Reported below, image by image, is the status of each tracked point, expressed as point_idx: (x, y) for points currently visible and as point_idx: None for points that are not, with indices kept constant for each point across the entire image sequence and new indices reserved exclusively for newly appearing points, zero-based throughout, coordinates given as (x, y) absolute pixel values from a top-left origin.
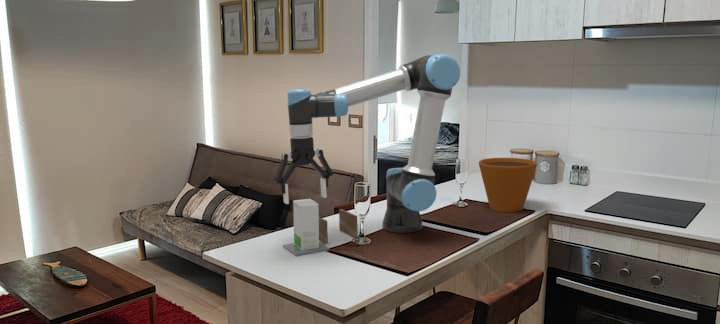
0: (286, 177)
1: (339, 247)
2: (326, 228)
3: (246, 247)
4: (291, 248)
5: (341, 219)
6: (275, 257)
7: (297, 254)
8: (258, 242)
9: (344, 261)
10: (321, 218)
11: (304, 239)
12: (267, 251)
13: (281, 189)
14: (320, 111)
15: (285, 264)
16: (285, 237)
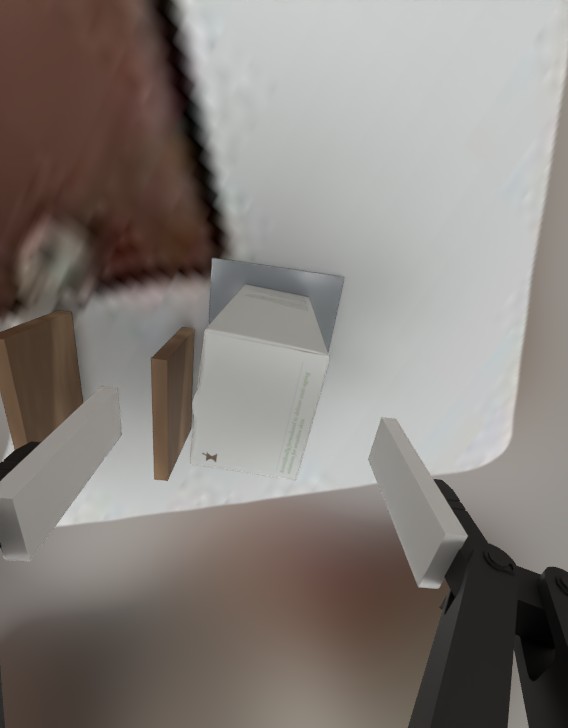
0: (496, 619)
1: (168, 258)
2: (168, 346)
3: None
4: None
5: (55, 426)
6: (398, 314)
7: (339, 276)
8: (350, 461)
9: (235, 83)
10: (156, 403)
11: (300, 302)
12: (380, 380)
13: (463, 515)
14: None
15: (420, 226)
16: None
